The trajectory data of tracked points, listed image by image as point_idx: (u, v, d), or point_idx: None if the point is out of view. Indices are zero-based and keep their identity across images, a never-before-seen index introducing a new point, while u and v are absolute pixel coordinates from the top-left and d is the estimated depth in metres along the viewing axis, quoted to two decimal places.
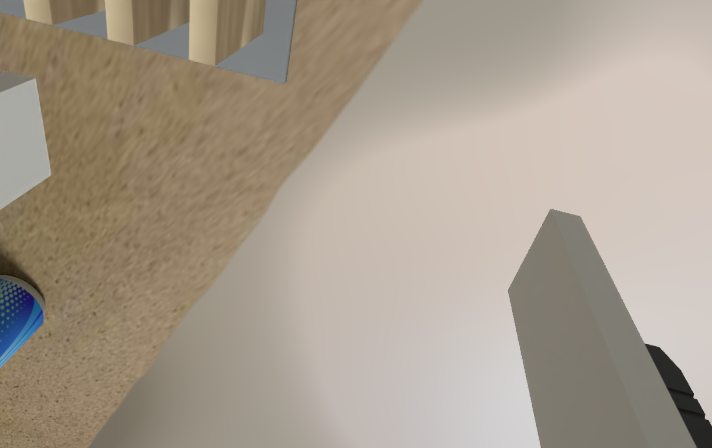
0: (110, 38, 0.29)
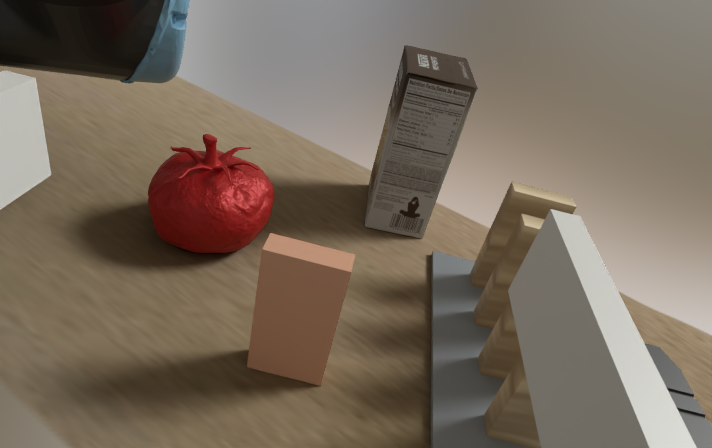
0: None
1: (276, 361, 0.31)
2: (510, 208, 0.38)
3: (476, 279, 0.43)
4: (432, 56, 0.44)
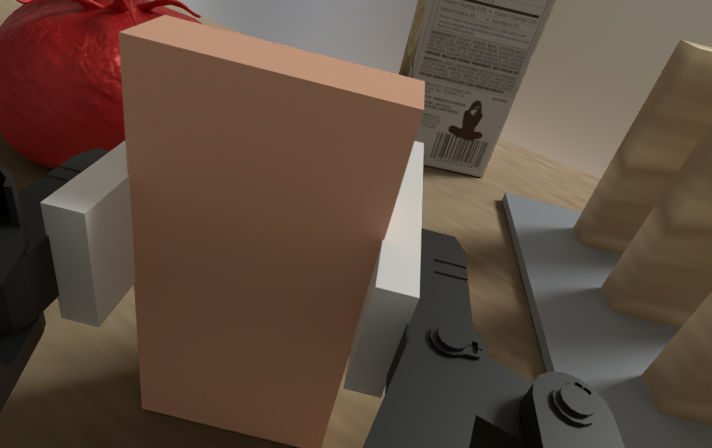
0: None
1: (210, 396, 0.12)
2: (682, 87, 0.20)
3: (592, 234, 0.24)
4: None
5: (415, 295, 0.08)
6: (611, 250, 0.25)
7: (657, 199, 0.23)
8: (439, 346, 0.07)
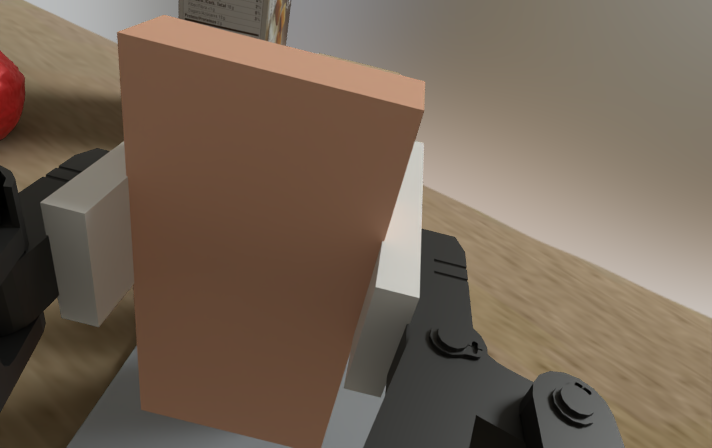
0: None
1: (209, 397, 0.12)
2: None
3: None
4: None
5: (415, 295, 0.08)
6: None
7: None
8: (439, 346, 0.07)
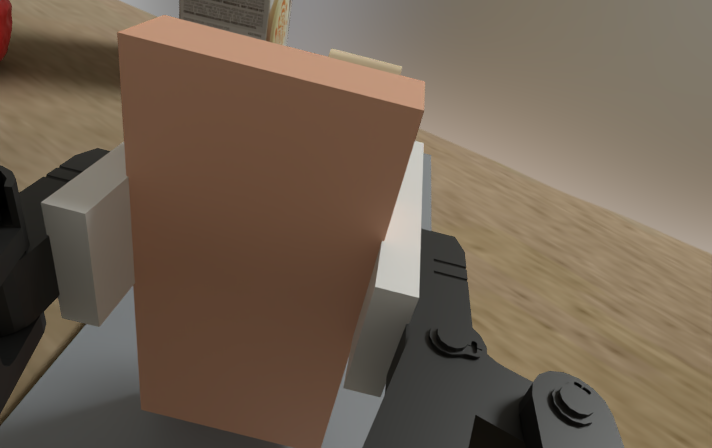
0: None
1: (209, 397, 0.12)
2: None
3: None
4: None
5: (415, 295, 0.08)
6: None
7: None
8: (438, 346, 0.07)
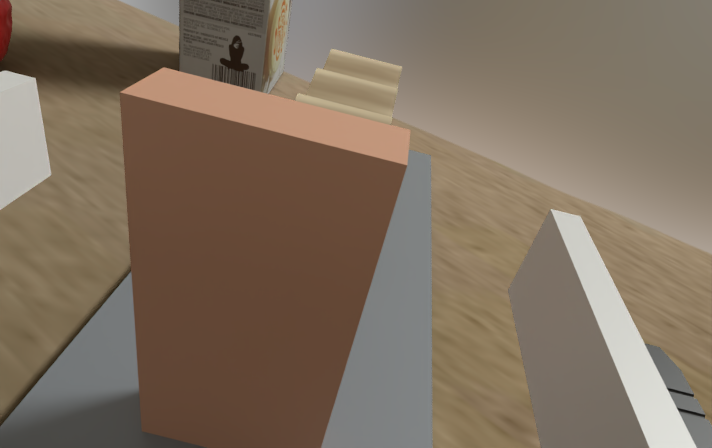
0: None
1: (207, 420, 0.13)
2: None
3: None
4: None
5: None
6: None
7: None
8: None
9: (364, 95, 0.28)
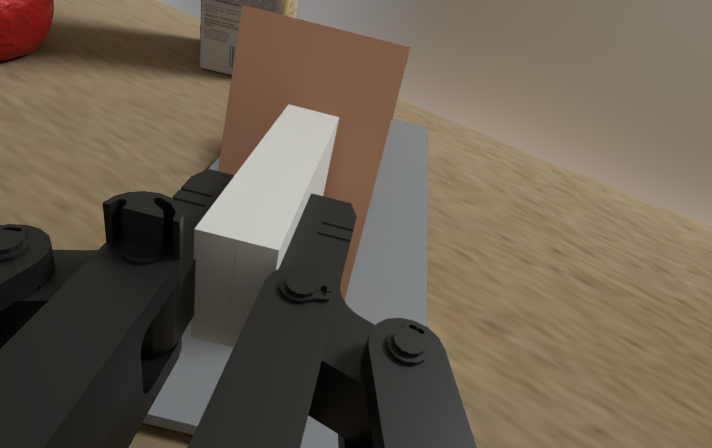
0: None
1: None
2: None
3: None
4: None
5: (275, 247, 0.08)
6: None
7: None
8: (289, 295, 0.08)
9: None
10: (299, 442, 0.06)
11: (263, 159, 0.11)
